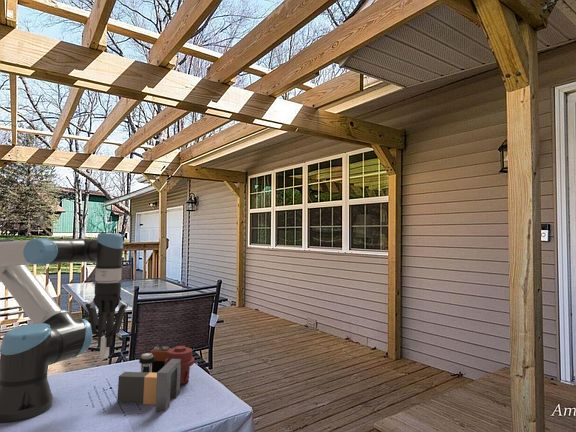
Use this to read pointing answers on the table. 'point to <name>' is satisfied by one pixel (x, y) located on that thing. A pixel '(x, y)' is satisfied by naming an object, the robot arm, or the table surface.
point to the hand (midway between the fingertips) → (104, 357)
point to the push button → (146, 362)
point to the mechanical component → (182, 361)
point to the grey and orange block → (137, 388)
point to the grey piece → (167, 384)
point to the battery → (159, 358)
